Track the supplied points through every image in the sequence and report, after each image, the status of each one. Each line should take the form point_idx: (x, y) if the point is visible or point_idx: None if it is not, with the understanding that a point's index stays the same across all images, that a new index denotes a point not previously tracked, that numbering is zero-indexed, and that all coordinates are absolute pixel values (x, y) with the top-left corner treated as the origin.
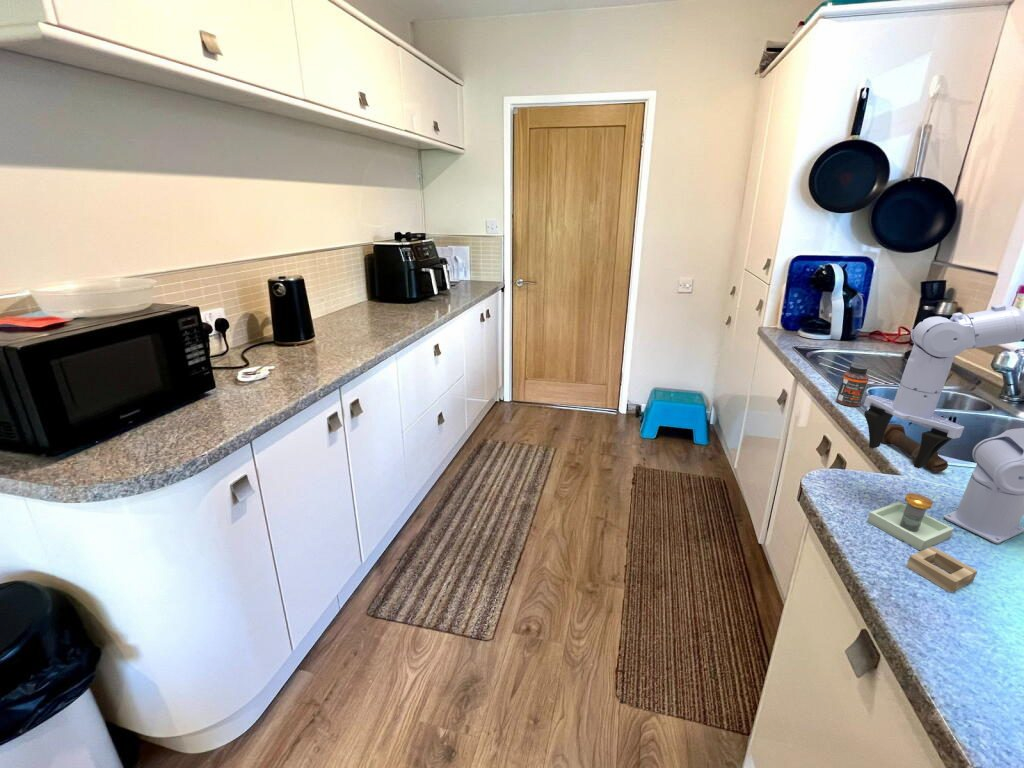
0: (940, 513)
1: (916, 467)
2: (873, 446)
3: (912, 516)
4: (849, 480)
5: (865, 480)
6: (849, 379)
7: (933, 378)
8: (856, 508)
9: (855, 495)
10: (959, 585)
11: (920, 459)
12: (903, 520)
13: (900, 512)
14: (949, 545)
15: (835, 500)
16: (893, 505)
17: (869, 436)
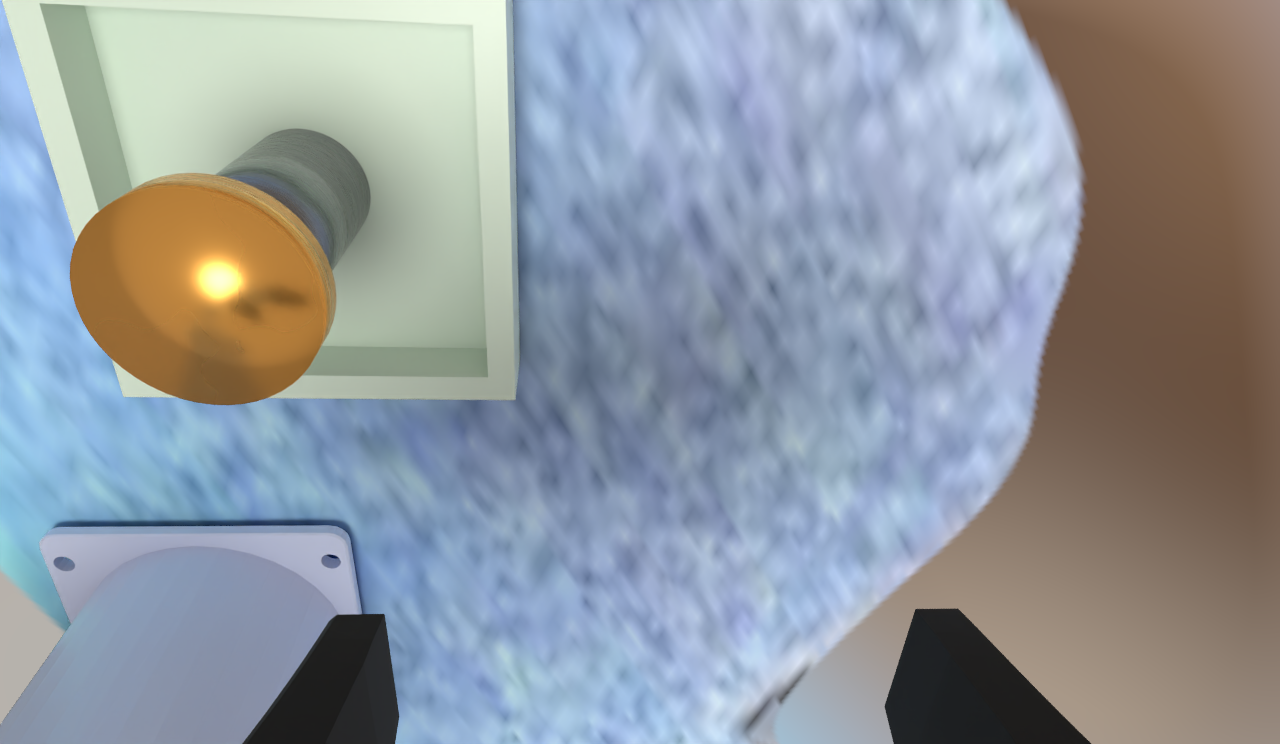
0: (392, 562)
1: (350, 619)
2: (925, 640)
3: (227, 170)
4: (889, 436)
5: (826, 524)
6: None
7: None
8: (667, 108)
9: (770, 288)
10: None
11: (270, 727)
12: (310, 152)
13: (468, 333)
14: None
15: (822, 59)
16: (494, 304)
17: (1077, 731)
